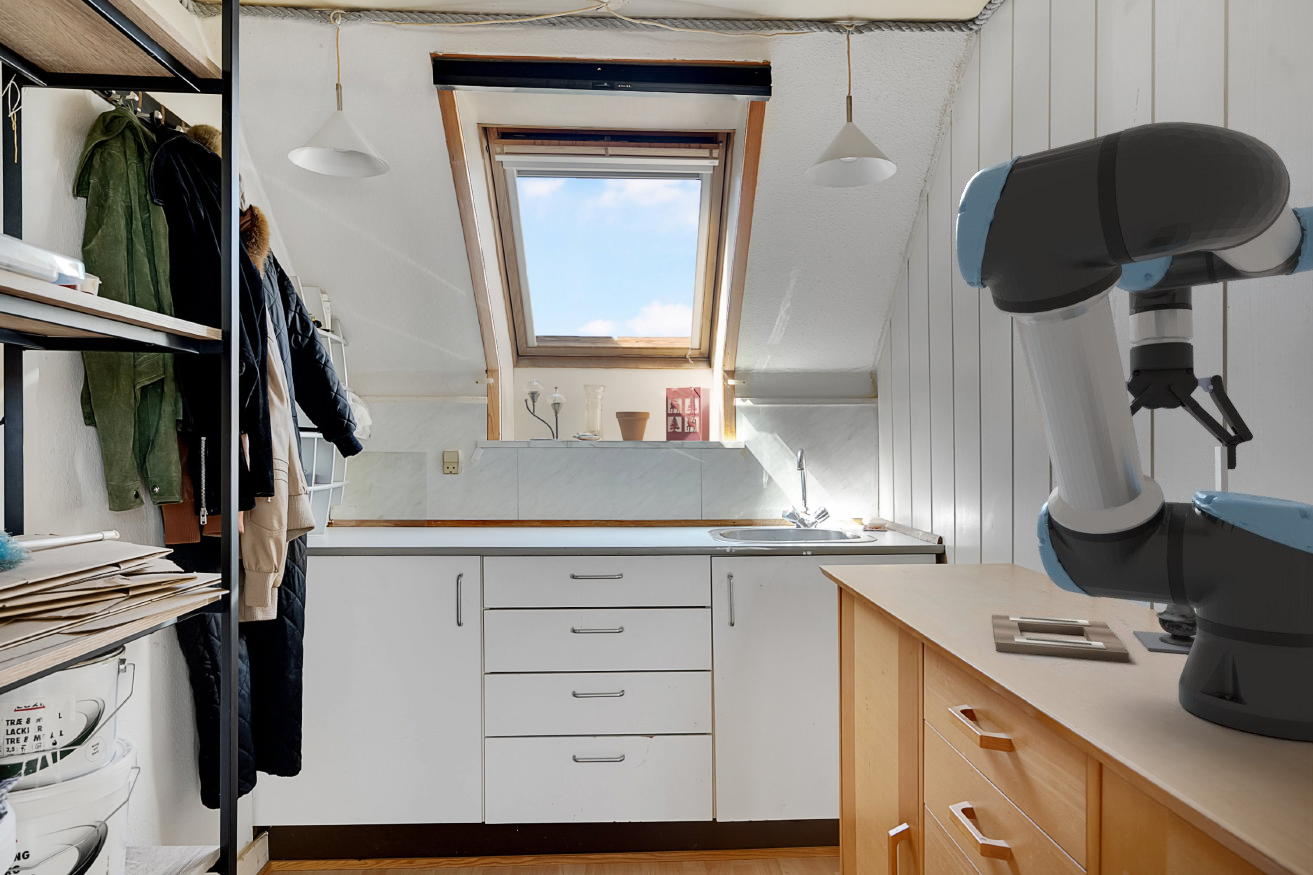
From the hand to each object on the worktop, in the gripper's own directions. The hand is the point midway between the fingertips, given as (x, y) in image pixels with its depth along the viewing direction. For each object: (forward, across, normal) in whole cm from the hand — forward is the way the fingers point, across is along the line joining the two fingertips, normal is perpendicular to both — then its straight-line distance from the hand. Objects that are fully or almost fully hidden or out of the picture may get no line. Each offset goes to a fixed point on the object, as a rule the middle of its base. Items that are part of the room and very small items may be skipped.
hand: (1163, 493), depth 106 cm
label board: (+22, +14, +2) cm, 26 cm away
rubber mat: (+22, -2, -2) cm, 22 cm away
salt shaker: (+22, -2, -2) cm, 22 cm away
